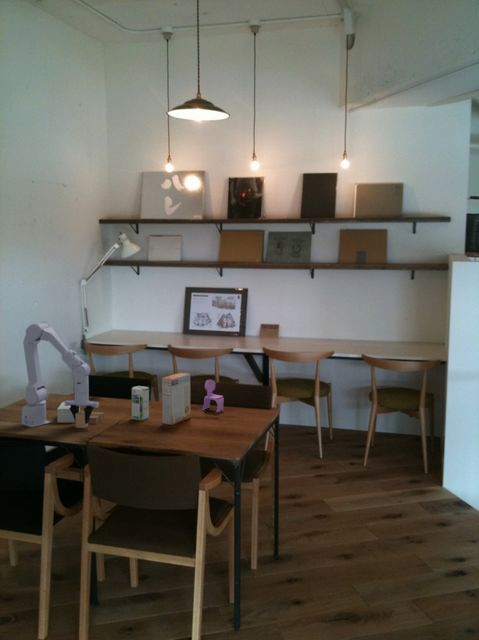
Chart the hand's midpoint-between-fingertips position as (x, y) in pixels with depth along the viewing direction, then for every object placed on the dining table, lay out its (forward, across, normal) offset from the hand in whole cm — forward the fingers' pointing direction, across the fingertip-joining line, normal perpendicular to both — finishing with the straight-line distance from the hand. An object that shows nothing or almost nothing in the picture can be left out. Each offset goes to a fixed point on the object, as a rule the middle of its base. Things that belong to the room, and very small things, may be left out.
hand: (82, 422), depth 243 cm
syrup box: (+2, -20, -17) cm, 27 cm away
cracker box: (+2, -37, -17) cm, 41 cm away
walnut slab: (+2, 0, -10) cm, 10 cm away
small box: (-1, +12, -16) cm, 21 cm away
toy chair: (+2, -50, -37) cm, 62 cm away
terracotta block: (+2, 0, 0) cm, 2 cm away
